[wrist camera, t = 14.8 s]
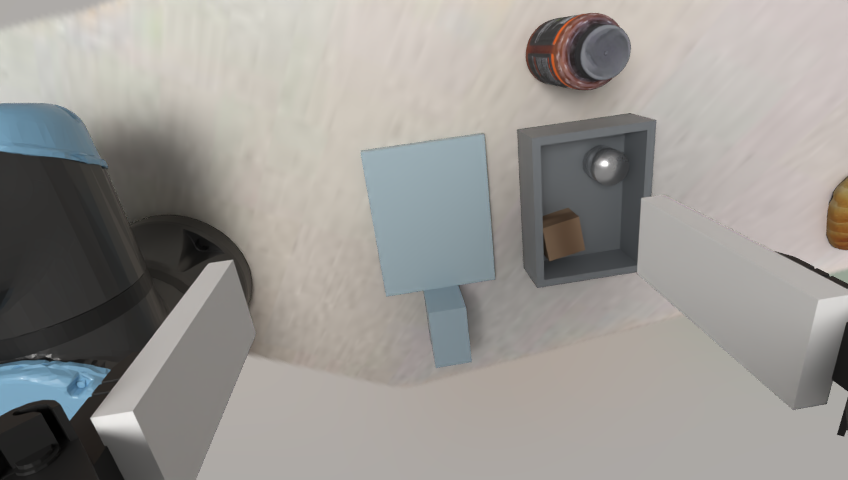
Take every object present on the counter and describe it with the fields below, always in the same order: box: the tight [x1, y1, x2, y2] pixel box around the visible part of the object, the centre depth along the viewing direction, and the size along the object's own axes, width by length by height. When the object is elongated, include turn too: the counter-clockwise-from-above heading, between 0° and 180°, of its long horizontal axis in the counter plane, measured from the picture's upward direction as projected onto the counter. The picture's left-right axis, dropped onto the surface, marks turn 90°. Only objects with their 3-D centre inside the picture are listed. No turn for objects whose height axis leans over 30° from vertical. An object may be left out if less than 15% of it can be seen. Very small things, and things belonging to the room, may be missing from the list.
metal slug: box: [583, 145, 629, 186], centre depth 49 cm, size 4×4×3 cm
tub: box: [517, 113, 656, 288], centre depth 50 cm, size 12×16×5 cm
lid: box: [361, 133, 495, 368], centre depth 50 cm, size 13×24×6 cm, turn 7°
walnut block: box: [543, 208, 585, 261], centre depth 52 cm, size 4×4×3 cm
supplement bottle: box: [526, 13, 631, 90], centre depth 41 cm, size 6×6×11 cm
